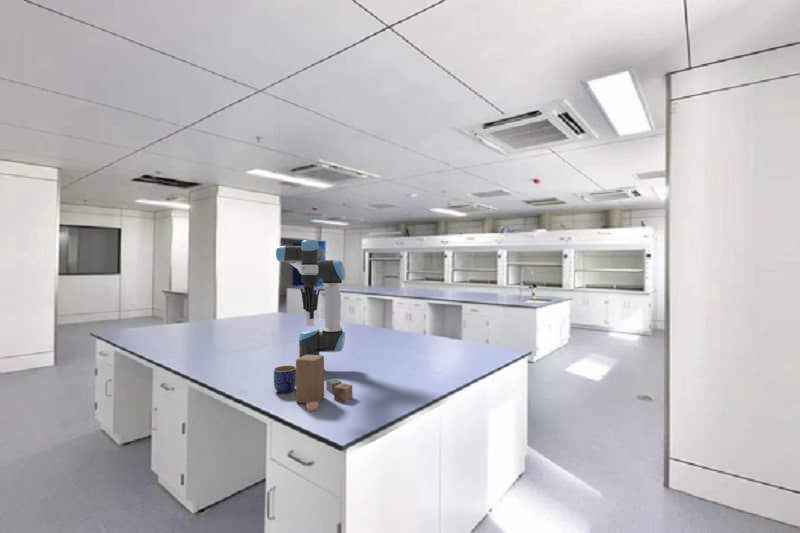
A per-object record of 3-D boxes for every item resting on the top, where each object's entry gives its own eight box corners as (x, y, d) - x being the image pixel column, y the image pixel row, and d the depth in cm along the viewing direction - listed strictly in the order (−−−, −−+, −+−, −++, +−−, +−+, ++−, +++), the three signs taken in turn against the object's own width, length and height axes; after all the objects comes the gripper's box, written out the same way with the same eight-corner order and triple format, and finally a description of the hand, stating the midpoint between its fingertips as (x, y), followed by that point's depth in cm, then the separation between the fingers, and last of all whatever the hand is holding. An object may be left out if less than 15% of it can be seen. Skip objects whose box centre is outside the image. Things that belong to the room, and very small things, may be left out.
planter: (295, 394, 179) (295, 371, 179) (271, 395, 177) (271, 372, 177) (297, 386, 190) (297, 364, 190) (275, 387, 188) (275, 365, 188)
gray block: (326, 390, 185) (326, 380, 185) (335, 388, 188) (335, 378, 188) (332, 394, 179) (332, 383, 179) (341, 392, 182) (341, 382, 182)
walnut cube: (334, 400, 171) (334, 387, 171) (341, 395, 177) (341, 383, 177) (345, 402, 169) (345, 389, 169) (352, 397, 174) (352, 385, 174)
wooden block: (316, 405, 165) (315, 360, 165) (295, 403, 167) (294, 359, 167) (324, 397, 175) (324, 354, 174) (305, 395, 177) (305, 353, 176)
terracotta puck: (304, 409, 160) (304, 402, 160) (314, 406, 164) (314, 399, 164) (310, 413, 157) (310, 406, 157) (320, 409, 160) (320, 402, 160)
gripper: (295, 274, 172) (295, 324, 172) (310, 274, 163) (310, 328, 163) (309, 273, 177) (309, 323, 178) (325, 274, 168) (325, 326, 168)
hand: (310, 325), depth 170 cm, fingers closed
